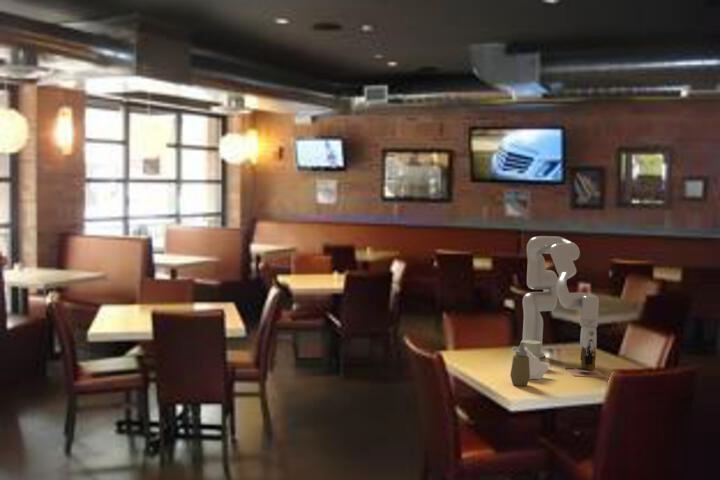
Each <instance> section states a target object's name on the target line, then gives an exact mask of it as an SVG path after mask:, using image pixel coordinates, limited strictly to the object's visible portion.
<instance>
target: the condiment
mask: <svg viewBox="0 0 720 480" xmlns="http://www.w3.org/2000/svg"><path fill="white" fill-rule="evenodd" d="M588 348H590V347H588ZM588 351H589V350H588ZM585 355H586V349H585V348H584V347H583V349H582V359H581V358H580V367H573V368H574V369H577V370H580V371H584V372H589V371H599V369H597V368H596V355H597V350H596V349H594V350H593V362H592V364H585Z"/></svg>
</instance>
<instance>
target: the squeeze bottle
mask: <svg viewBox="0 0 720 480" xmlns="http://www.w3.org/2000/svg"><path fill="white" fill-rule="evenodd" d="M518 347H519V349H518V350H516V351H515V355H513V356H512V362H511V370H510V376H509V377H510V380H511V382H512V383H511V384H512V385H514V386H515V387H526V386H527V385H528V384H529V382H530V380H531V379H530V368H529V357H528V356H526V355H527V351H525V350H524V343H523V342H521V341H520V343H519V346H518ZM529 379H530V380H529Z"/></svg>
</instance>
